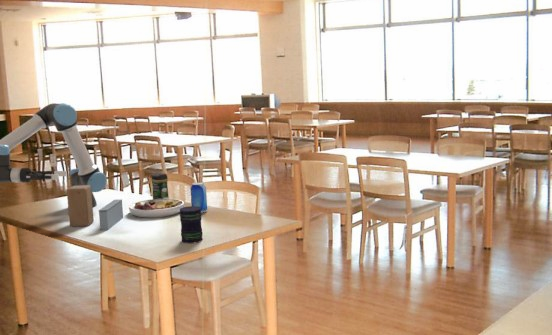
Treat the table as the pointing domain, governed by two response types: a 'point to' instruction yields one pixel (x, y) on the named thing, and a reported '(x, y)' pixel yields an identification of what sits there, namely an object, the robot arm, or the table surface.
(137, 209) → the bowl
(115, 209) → the beam
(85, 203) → the wooden block
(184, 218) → the storage jar
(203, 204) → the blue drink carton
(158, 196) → the coffee jar
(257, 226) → the table surface
